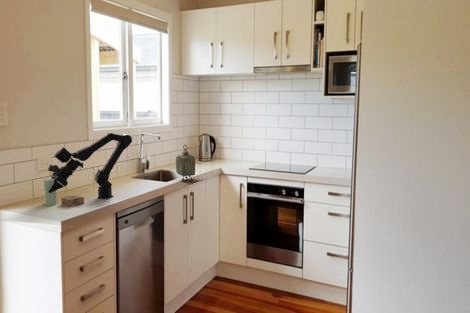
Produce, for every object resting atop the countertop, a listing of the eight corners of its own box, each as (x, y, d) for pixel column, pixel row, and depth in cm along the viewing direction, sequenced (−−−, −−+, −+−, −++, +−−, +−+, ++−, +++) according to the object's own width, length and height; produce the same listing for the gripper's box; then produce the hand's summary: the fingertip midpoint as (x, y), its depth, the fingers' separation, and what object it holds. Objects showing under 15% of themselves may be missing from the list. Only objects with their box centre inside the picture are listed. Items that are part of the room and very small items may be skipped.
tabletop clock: (195, 181, 272) (194, 145, 269) (183, 182, 268) (182, 145, 264) (187, 178, 284) (187, 143, 281) (175, 179, 280) (175, 144, 277)
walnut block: (75, 202, 215) (75, 195, 214) (84, 204, 210) (83, 197, 209) (61, 205, 208) (61, 197, 208) (70, 207, 204) (69, 199, 203)
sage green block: (55, 202, 213) (54, 178, 212) (56, 204, 209) (55, 180, 208) (45, 203, 211) (43, 179, 209) (46, 205, 207) (44, 181, 205)
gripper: (55, 157, 217) (33, 178, 213) (59, 160, 201) (36, 184, 197) (71, 170, 222) (50, 191, 218) (76, 174, 206) (54, 198, 202)
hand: (48, 190), depth 209 cm, fingers open, 9 cm apart
